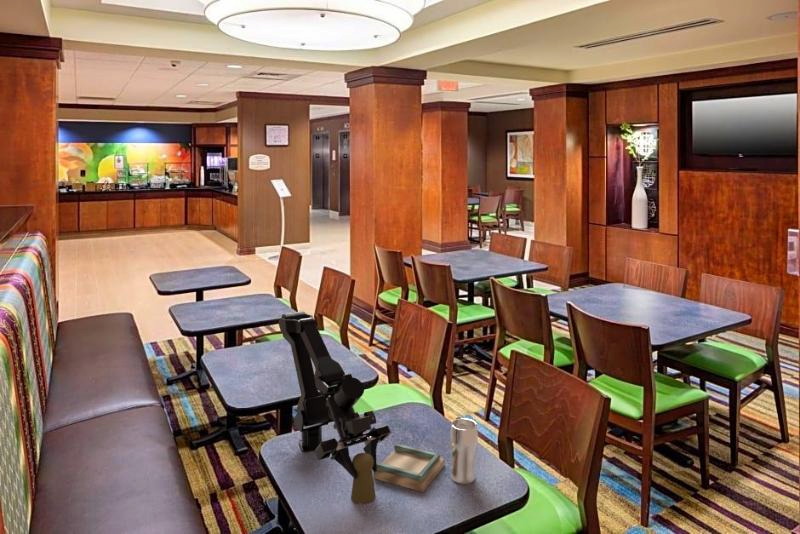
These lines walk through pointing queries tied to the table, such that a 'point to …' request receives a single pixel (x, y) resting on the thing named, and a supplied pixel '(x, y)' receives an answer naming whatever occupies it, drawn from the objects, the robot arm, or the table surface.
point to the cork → (363, 479)
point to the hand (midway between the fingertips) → (365, 475)
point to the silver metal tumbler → (463, 449)
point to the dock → (410, 467)
